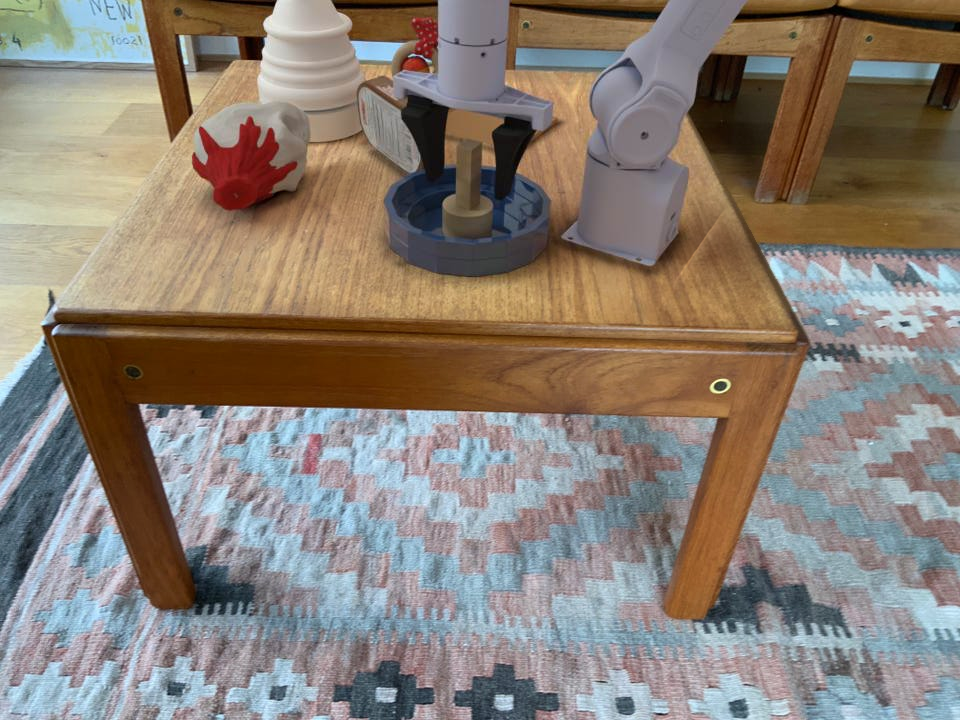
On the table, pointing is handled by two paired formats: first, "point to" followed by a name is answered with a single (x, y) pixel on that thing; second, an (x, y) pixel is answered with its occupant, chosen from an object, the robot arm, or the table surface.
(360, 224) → the table surface
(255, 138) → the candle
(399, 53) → the bird rattle
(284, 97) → the honey pot
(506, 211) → the bowl
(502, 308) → the table surface
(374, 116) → the tin
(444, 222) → the wooden peg on disc
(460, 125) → the mat
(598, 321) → the table surface
